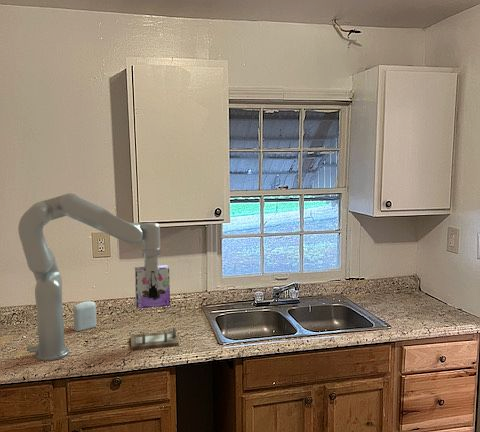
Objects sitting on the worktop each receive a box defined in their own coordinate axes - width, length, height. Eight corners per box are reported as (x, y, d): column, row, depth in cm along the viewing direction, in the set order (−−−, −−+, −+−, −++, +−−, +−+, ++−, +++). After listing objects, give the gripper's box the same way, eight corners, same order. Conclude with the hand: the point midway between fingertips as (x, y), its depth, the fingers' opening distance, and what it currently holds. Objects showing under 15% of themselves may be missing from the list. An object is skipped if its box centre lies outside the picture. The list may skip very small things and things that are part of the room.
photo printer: (93, 324, 228) (92, 298, 227) (98, 326, 225) (97, 300, 224) (72, 330, 221) (71, 303, 220) (77, 332, 218) (75, 305, 216)
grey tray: (131, 350, 197) (131, 337, 196) (130, 337, 210) (130, 326, 210) (178, 345, 202) (178, 333, 201) (174, 333, 215) (174, 322, 214)
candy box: (136, 309, 199) (135, 269, 198) (135, 305, 205) (134, 266, 203) (170, 306, 203) (169, 267, 201) (168, 302, 209) (167, 264, 207)
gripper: (140, 249, 209) (142, 290, 211) (143, 257, 192) (144, 301, 194) (158, 248, 211) (159, 289, 213) (162, 256, 194) (163, 300, 196)
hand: (152, 294), depth 204 cm, fingers closed on candy box, 5 cm apart
